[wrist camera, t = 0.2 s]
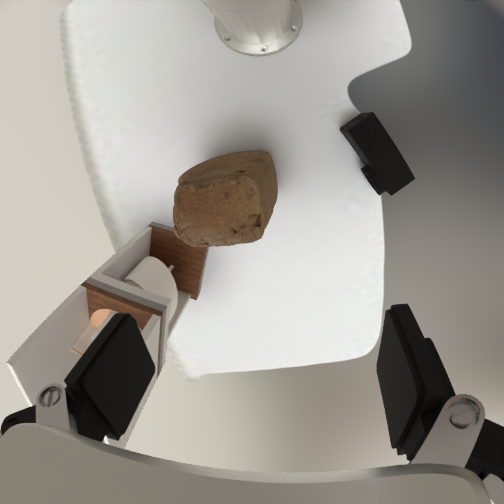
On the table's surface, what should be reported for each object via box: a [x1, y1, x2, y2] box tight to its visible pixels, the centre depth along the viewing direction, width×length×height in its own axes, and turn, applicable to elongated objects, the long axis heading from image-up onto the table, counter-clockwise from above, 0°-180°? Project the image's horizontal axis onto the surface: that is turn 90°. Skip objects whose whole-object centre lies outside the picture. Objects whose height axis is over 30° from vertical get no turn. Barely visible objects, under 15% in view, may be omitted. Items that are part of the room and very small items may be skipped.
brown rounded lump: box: [173, 151, 278, 247], centre depth 35 cm, size 11×8×20 cm
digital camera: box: [340, 112, 415, 195], centre depth 36 cm, size 10×5×7 cm, turn 40°
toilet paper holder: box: [7, 222, 209, 449], centre depth 36 cm, size 11×11×35 cm
